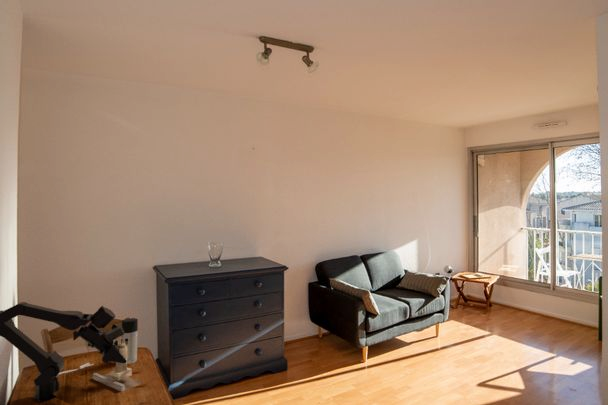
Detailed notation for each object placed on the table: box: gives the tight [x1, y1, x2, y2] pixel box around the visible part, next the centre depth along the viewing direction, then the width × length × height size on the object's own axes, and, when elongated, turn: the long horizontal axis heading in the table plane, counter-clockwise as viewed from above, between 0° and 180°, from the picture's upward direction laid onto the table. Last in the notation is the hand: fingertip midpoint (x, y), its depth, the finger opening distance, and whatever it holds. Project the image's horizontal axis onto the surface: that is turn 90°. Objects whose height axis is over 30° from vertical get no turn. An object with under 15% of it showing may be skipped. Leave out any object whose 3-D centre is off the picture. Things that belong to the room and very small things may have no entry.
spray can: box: [120, 317, 139, 365], centre depth 175 cm, size 7×7×20 cm
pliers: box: [57, 362, 94, 376], centre depth 166 cm, size 10×2×15 cm
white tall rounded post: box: [110, 342, 133, 381], centre depth 154 cm, size 6×5×13 cm
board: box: [92, 371, 143, 393], centre depth 154 cm, size 9×20×4 cm, turn 57°
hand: (125, 360), depth 154 cm, fingers closed on white tall rounded post, 4 cm apart
